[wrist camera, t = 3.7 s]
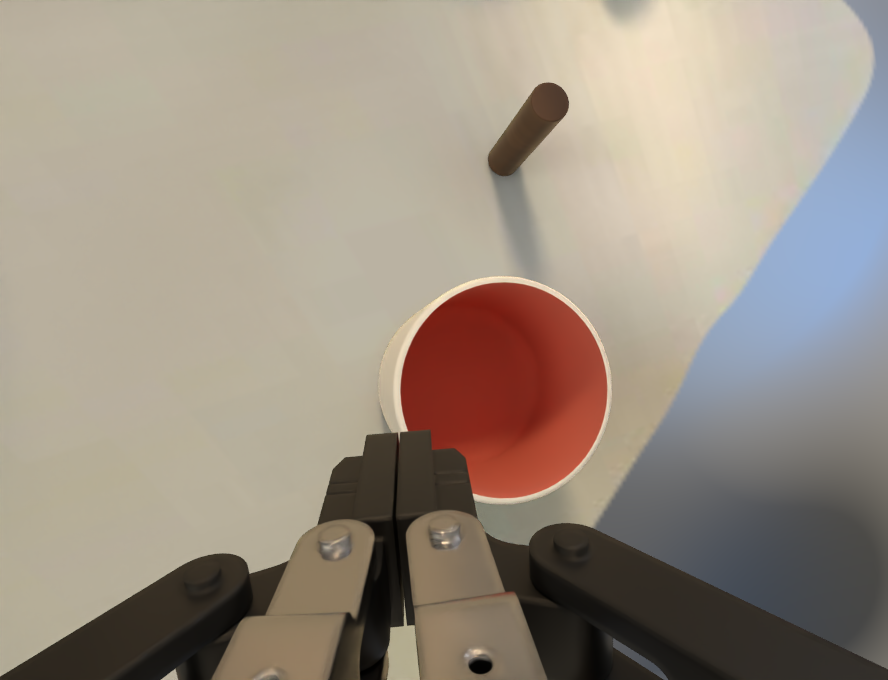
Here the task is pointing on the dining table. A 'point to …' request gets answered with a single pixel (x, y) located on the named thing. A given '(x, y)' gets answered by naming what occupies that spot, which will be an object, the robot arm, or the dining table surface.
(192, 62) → the dining table surface
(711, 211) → the dining table surface
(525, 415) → the cup
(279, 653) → the robot arm
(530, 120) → the post
